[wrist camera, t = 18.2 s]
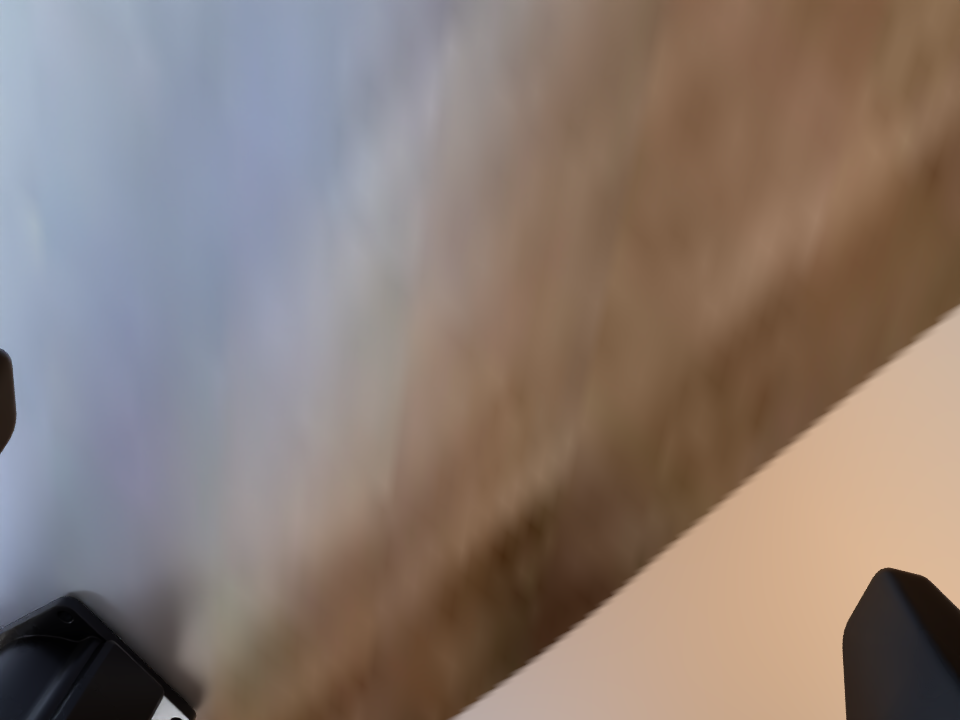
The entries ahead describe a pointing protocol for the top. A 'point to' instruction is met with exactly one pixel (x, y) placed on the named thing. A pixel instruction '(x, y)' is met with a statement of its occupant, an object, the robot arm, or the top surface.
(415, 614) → the top surface
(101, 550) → the top surface
